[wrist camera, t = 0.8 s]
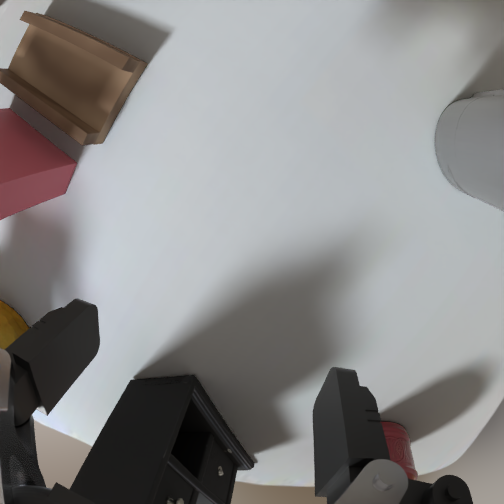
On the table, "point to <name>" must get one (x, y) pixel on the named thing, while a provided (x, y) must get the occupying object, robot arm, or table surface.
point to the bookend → (163, 448)
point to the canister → (400, 448)
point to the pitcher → (10, 325)
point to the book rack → (71, 77)
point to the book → (29, 166)
